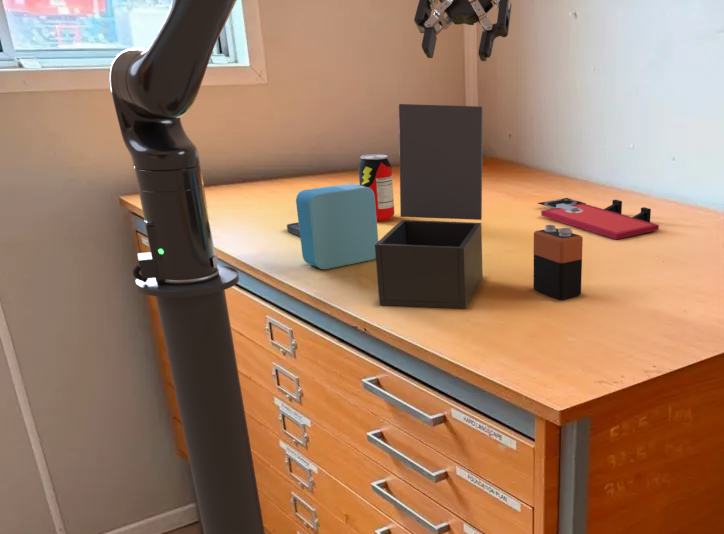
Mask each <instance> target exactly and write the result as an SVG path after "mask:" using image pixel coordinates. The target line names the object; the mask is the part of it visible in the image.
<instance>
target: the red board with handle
mask: <svg viewBox="0 0 724 534" xmlns="http://www.w3.org/2000/svg"><path fill="white" fill-rule="evenodd" d="M537 205H541V206H545V207H548V208H550V209H545V210H541V211H540V216H542V217H544V218H548V219H550V220H554V221H556V222H560V223H563V224H567V225H570V226H573V227H576V228H579V229H582V230H586V231H589V232H592V233H594V234H598V235H601V236H604V237H608V238H611V239H613V240H619V239H624V238H629V237H632V236H638V235H642V234H646V233H647V234H648V233H651V232H656V231H659V230H660V225H659V224H656V223H653V222H651V215H652V209H651V208H649V207H645V206H643V207H640V212H638V213H637V214H635V215H634V216H629V215H625V214H622V211H623V201H622V200H619V199H612V204H611V205H608V206H607V207H605V208H601V207H597V206H595V205H590V204H587V203H586V202H583V201H580V200H576V199H572V198H569V197H564V198H558V199H551V200H547V201H540V202H537Z"/></svg>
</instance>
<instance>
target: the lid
mask: <svg viewBox="0 0 724 534" xmlns="http://www.w3.org/2000/svg"><path fill="white" fill-rule="evenodd" d="M483 108H484V107H483V106H481V105H480V106H479V105H478V106H475V105H444V104H443V105H442V104H417V103H416V104H415V103H414V104H413V103H412V104H411V103H408V104H407V103H399V104H398V141H399V201H400V202H399V203H400V204H399V206H400V207H399V209H400V210H399V211H400V217H401V218H423V219H445V220H448V219H449V220H450V219H451V220H476V221H477V220H478V221H481V220H482V217H483V216H482V215H483V118H484V117H483V113H484V112H483V111H484V109H483Z"/></svg>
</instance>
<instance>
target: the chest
mask: <svg viewBox="0 0 724 534" xmlns="http://www.w3.org/2000/svg"><path fill="white" fill-rule="evenodd" d="M482 235H483V233H482V222H470V221H469V222H467V221H466V222H465V221H446V220H445V221H444V220H443V221H441V220H417V219H416V220H414V219H400V221H398V222H397V224H396V225H394V226H393V227H392V228H391V229H390V230H389V231H388V232H387V233H385V235H383V236H382V237H381V238H380V239H378V242H377V243H376V244H375V255H376V258H375V264H376V266H375V267H376V279H377V290H378V304H379V306H391V307H416V308H435V309H436V308H437V309H439V308H440V309H459V310H462V309H464V310H465V309H467V307H468V305H469V303H470V302H471V300H472V298H473V297H474V295H475V293H476V291H477V289H478V288H479V286H480V283H481V282H482V280H483V278H484V276H483V275H484V274H483V243H482V242H483V237H482Z"/></svg>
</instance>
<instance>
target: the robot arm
mask: <svg viewBox="0 0 724 534" xmlns="http://www.w3.org/2000/svg"><path fill="white" fill-rule="evenodd" d="M237 1H238V0H171V4H170V7H169V10H168V13H167V15H166V16H165V17H166V18H165V20H164V22H163V23H162V25H161V26H160V29H159V30H158V32H157V35H156V37H155V38H154V39H153V41H152V42H151V44H150V46H149V47H148V48H145V47H132V48H127V49H125V50H123V51H121V52H120V53H118V54H117V55H116V57H115V58H114V59H113V61H112V63H111V66H110V72H109V83H110V92H111V96H112V101H113V105H114V109H115V114H116V118H117V121H118V126H119V129H120V130H119V131H120V134H121V138H122V141H123V143H124V146H125V148H126V149H127V151H128V153H129V154H130V157H131V161H132V166H133V169H134V175H135V179H136V184H137V189H138V194H139V200H140V205H141V210H142V215H143V221H144V226H145V231H146V236H147V241H148V246H149V251H148V252H147V251H146V252H138V253H137V254H136V255H137V260H138V264H136V265H135V267H134V268H133V269H132V275H133V277H134V278H135V279H138V280H141V281H143V282H146V281H147V280H148V278H155V279H156V281H157V285H192V284H199V283H203V282H207V281H211V280H213V279H215V278H217V277H218V276H219V271H218V268H217V265H219V259H218V254H216V252H215V246H214V240H213V234H212V228H211V221H210V214H209V209H208V204H207V197H206V191H205V186H204V179H203V173H202V168H201V162H200V155H199V151H198V148H197V146H196V144H195V143H193V141H192V140H191V139H190V137H189V136H188V134H187V133H186V131H185V130H184V127H183V124H182V120H181V117H183V116H184V115H185V114H187V113H188V112H189V111H190V110H191V108H192V107H193V106H194V103H195V101H196V100H197V97H198V94H199V91H200V90H201V86H202V83H203V81H204V77H205V74H206V71H207V68H208V66H209V63H210V60H211V57H212V54H213V51H214V48H215V47H216V44H217V41H218V39H219V37H220V35H221V34H222V31H223V30H224V27H225V25H226V24H227V21H228V19H229V18H230V15H231V14H232V11H233V9H234V7H235V5H236V3H237ZM438 4H439V5H438ZM437 5H438V6H437ZM512 5H513V4H512V2H511V0H418V4H417V7H416V10H415V15H414V18H413V21H414V23H415V25H416V28H417V30H418V32H419V33H420V34H423V37H422V42H421V49H422V51H423V53H424V55H425V56H426V58H427V59H433V58H434V56H435V55H434V54H435V49H436V46H437V45H436V44H437V39H438V38H437V36H438V35H439V34H440V33H441V32H442V31H443V30H447V29H448V28H449V27H450V26H452V25H453V24H454V25H467V26H474V25H475V24H477V23H478V24H479V26H480V28H481V29H482V32H481V36H480V41H479V47H478V57H479V59H480V61H481V62H487V60H488V58H491V56H492V52H493V47H494V43H495V42H494V41H495V40H496V39H497V38H498V37H501V38H507V36H508V35H509V30H510V22H511V14H512ZM436 6H437V7H436ZM494 6H495V8H496V10H497V18H496V22H495V23H492V22H491V21H490V19H489V16H488V15H487V14H488V13H489V12H490V11H491V10H492V9H493V8H494ZM432 11H433V14H432ZM445 14H446V17H445V16H444V15H445Z"/></svg>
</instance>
